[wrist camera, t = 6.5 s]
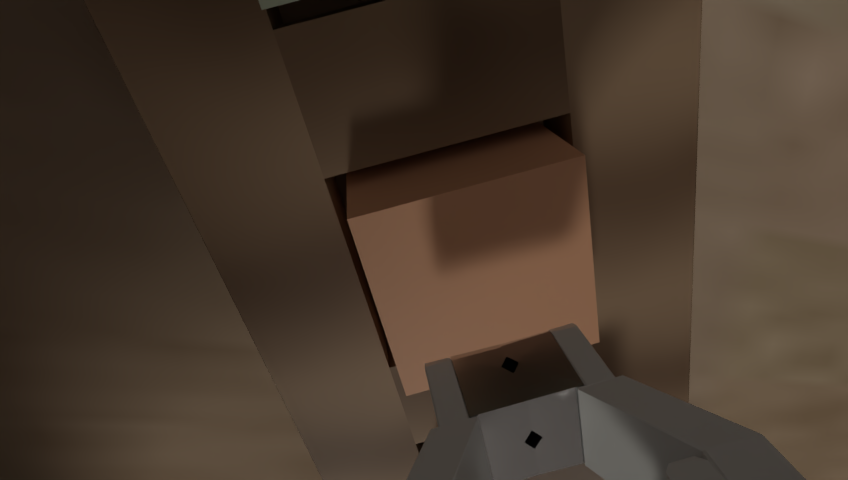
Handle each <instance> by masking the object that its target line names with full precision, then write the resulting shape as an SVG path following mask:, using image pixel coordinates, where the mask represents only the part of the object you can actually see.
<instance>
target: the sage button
mask: <svg viewBox="0 0 848 480" xmlns="http://www.w3.org/2000/svg"><path fill="white" fill-rule="evenodd" d="M258 1H259V4H260V7H261V9H262V10H264V9H268V8H272V7H275V6H279V5H283V4H287V3H291V2H295V1H299V0H258Z"/></svg>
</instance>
